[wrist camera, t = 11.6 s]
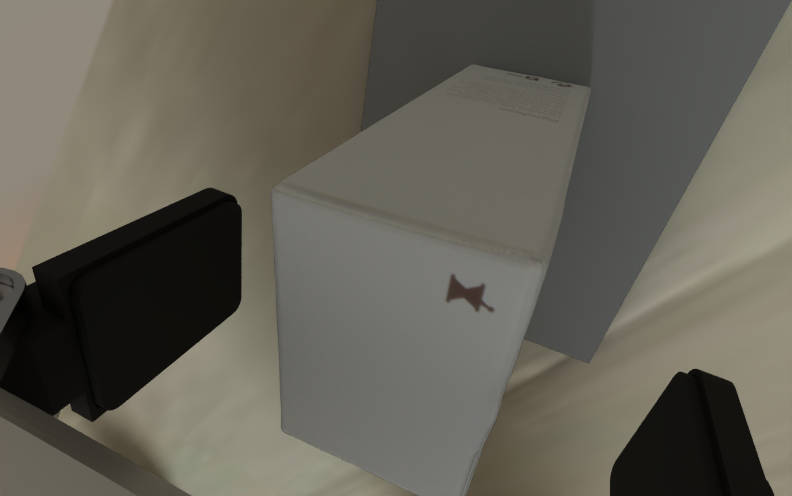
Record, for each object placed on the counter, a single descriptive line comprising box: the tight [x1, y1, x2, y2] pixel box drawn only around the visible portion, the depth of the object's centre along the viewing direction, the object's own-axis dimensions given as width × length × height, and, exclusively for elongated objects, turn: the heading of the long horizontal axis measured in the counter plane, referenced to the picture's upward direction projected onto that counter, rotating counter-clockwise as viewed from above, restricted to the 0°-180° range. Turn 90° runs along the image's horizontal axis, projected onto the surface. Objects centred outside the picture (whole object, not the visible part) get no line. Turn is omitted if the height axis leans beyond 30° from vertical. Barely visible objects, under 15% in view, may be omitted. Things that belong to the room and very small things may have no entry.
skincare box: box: [271, 64, 591, 496], centre depth 13 cm, size 6×4×12 cm
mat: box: [361, 0, 791, 363], centre depth 18 cm, size 16×12×1 cm
